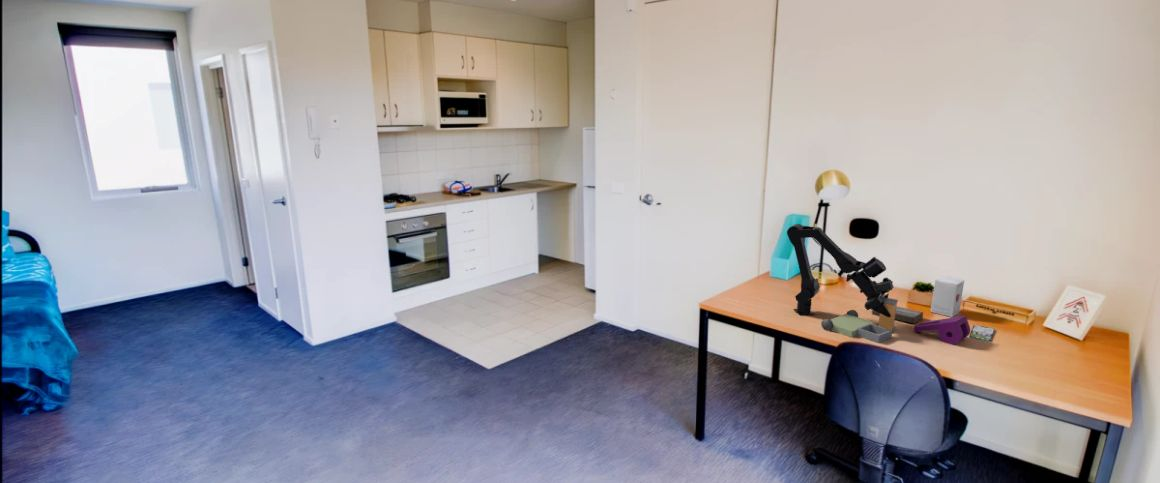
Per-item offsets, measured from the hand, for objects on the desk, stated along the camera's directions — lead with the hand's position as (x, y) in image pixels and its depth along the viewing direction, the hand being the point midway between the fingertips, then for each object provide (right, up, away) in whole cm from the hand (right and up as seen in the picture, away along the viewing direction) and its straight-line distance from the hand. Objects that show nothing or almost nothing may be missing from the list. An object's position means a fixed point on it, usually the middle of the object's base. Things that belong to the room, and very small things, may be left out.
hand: (891, 314), depth 247 cm
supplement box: (+34, -2, +20) cm, 39 cm away
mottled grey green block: (+35, -8, -3) cm, 36 cm away
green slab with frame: (-13, -7, +1) cm, 15 cm away
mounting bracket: (+16, -8, -4) cm, 19 cm away
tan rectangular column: (-1, -6, +2) cm, 7 cm away
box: (+11, -3, +16) cm, 20 cm away
